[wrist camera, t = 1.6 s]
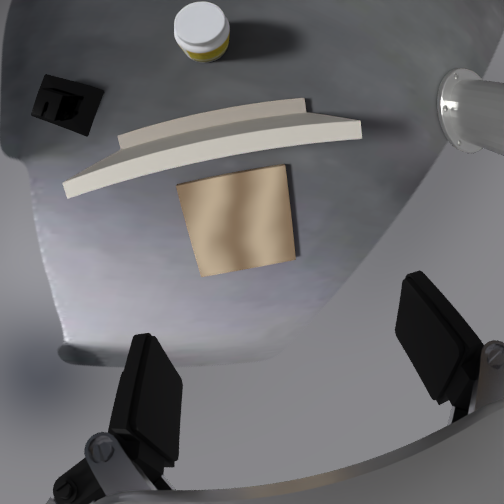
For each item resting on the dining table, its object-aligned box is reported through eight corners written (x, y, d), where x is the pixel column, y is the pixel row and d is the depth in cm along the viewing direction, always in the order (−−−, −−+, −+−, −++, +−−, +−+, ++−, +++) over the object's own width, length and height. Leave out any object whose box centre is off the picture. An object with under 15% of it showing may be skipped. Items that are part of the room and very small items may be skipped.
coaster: (283, 163, 31) (285, 165, 30) (294, 256, 37) (295, 259, 36) (177, 184, 31) (176, 186, 30) (201, 273, 37) (201, 277, 36)
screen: (301, 98, 28) (358, 96, 15) (306, 136, 30) (363, 162, 17) (120, 134, 27) (55, 161, 15) (130, 171, 30) (75, 219, 17)
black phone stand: (23, 118, 24) (2, 122, 20) (42, 63, 22) (21, 62, 18) (97, 145, 28) (80, 152, 24) (120, 86, 25) (105, 84, 21)
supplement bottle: (238, 42, 24) (243, 21, 17) (205, 71, 25) (198, 59, 18) (206, 16, 22) (200, -12, 15) (173, 45, 23) (156, 26, 16)
